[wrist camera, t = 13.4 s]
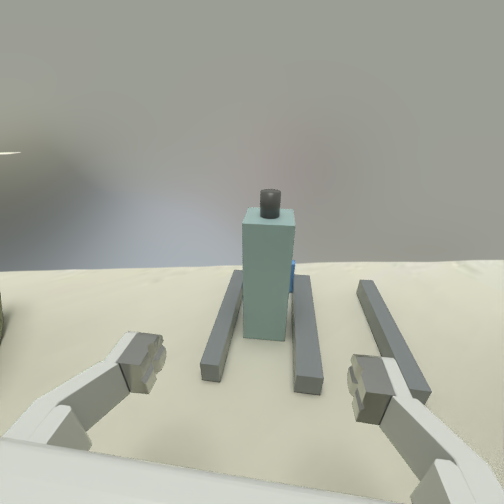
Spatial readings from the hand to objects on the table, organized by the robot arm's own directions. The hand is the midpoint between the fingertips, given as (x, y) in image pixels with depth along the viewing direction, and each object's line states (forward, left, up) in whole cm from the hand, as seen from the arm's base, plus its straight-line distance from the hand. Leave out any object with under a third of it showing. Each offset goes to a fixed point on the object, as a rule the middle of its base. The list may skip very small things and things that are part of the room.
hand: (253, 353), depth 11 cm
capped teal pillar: (0, -12, -10) cm, 16 cm away
